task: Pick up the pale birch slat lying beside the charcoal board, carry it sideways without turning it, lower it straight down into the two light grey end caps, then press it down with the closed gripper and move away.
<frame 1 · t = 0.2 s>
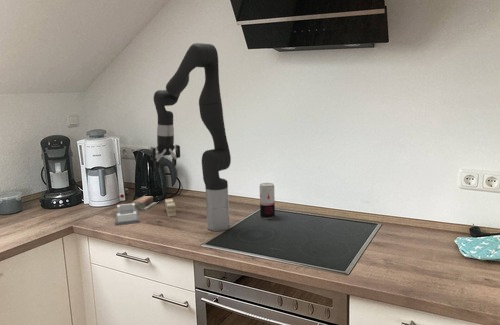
hand: (165, 167, 188), 21 cm above the worktop, tool pointing down, fingers open, 8 cm apart
packaged product: (146, 206, 205), on the worktop
slat: (170, 212, 191), on the worktop
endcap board: (127, 217, 185), on the worktop
beverage can: (267, 217, 180), on the worktop
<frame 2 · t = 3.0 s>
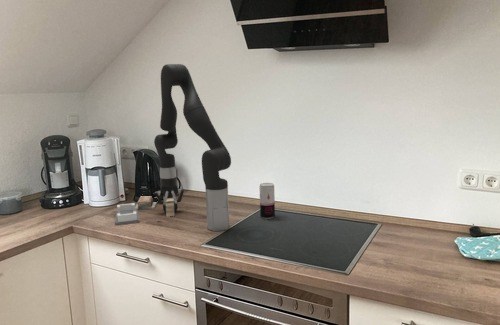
hand: (170, 211, 191), 1 cm above the worktop, tool pointing down, fingers closed on slat, 4 cm apart
slat: (170, 212, 191), on the worktop, touching gripper
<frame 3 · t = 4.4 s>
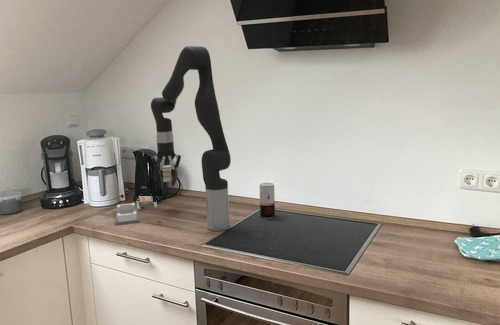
hand: (167, 177, 188), 17 cm above the worktop, tool pointing down, fingers closed on slat, 4 cm apart
slat: (167, 178, 188), point 17 cm above the worktop, touching gripper
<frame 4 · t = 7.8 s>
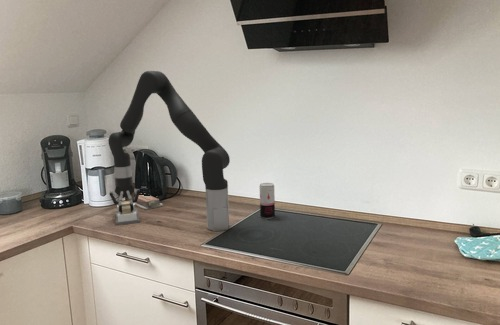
hand: (126, 211, 184), 3 cm above the worktop, tool pointing down, fingers closed on slat, 3 cm apart
slat: (126, 215, 184), point 1 cm above the worktop, touching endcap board, gripper
when the fingers open (3 cm above the worktop, at t = 8.5 s): slat stays where it is, resting on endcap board.
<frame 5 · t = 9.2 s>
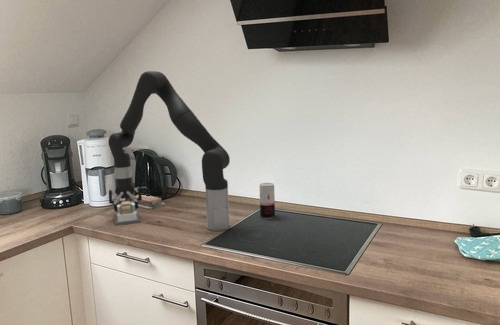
hand: (126, 210, 184), 3 cm above the worktop, tool pointing down, fingers open, 8 cm apart
slat: (126, 215, 184), point 1 cm above the worktop, touching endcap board
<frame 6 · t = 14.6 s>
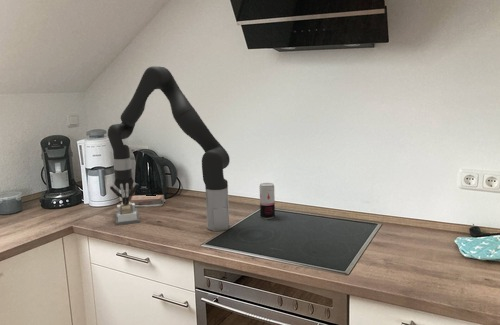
hand: (126, 204, 184), 6 cm above the worktop, tool pointing down, fingers closed
slat: (126, 215, 184), point 1 cm above the worktop, touching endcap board, gripper
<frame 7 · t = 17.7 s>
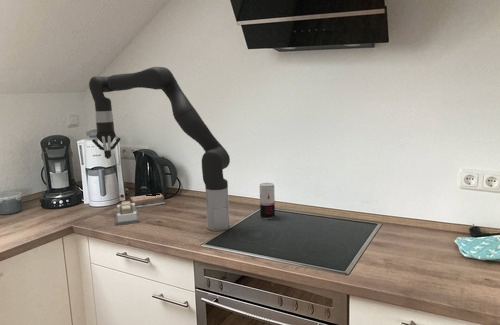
hand: (108, 158, 186), 27 cm above the worktop, tool pointing down, fingers closed
slat: (126, 215, 184), point 1 cm above the worktop, touching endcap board
at the end: slat 0.2 cm off-centre on the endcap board, point 1.0 cm above the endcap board's base; slat tilted 0°; the gripper is holding nothing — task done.
